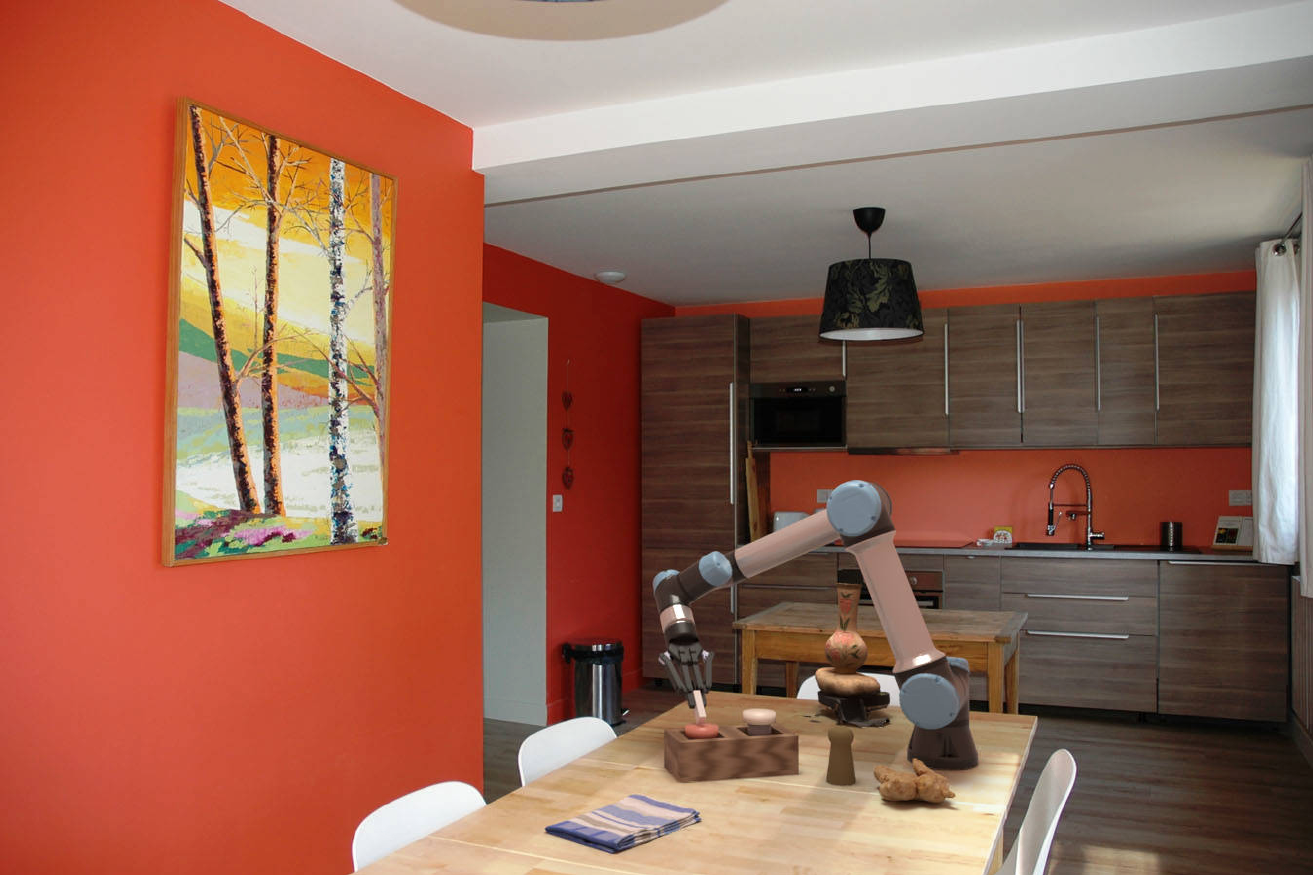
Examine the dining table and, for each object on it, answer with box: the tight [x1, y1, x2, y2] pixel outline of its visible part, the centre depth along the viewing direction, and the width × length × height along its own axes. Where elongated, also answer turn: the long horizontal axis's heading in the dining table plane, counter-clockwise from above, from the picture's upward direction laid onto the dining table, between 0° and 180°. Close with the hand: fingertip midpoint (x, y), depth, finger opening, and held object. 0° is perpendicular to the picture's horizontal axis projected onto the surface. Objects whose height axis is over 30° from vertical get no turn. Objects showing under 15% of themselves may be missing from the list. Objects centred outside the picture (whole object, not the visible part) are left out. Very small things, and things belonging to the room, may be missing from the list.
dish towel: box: [544, 793, 703, 855], centre depth 181 cm, size 17×24×3 cm
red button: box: [684, 722, 719, 740], centre depth 216 cm, size 7×7×7 cm
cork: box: [825, 725, 857, 787], centre depth 210 cm, size 6×6×11 cm
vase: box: [801, 582, 891, 729], centre depth 272 cm, size 24×22×35 cm
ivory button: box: [742, 708, 777, 736], centre depth 219 cm, size 7×7×7 cm
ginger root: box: [873, 759, 956, 804], centre depth 198 cm, size 16×16×8 cm
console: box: [663, 722, 800, 783], centre depth 217 cm, size 26×12×8 cm, turn 105°
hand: (701, 720), depth 216 cm, fingers closed
